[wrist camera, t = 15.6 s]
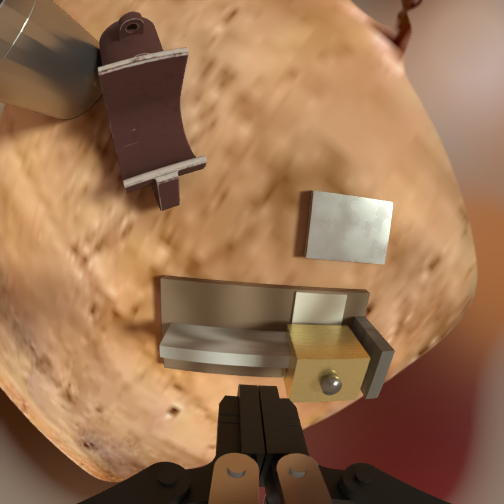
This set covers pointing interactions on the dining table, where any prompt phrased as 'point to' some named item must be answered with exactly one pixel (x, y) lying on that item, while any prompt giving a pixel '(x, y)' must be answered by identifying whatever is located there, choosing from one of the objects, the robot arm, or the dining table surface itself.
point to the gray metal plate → (347, 228)
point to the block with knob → (324, 363)
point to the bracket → (146, 107)
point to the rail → (258, 326)
